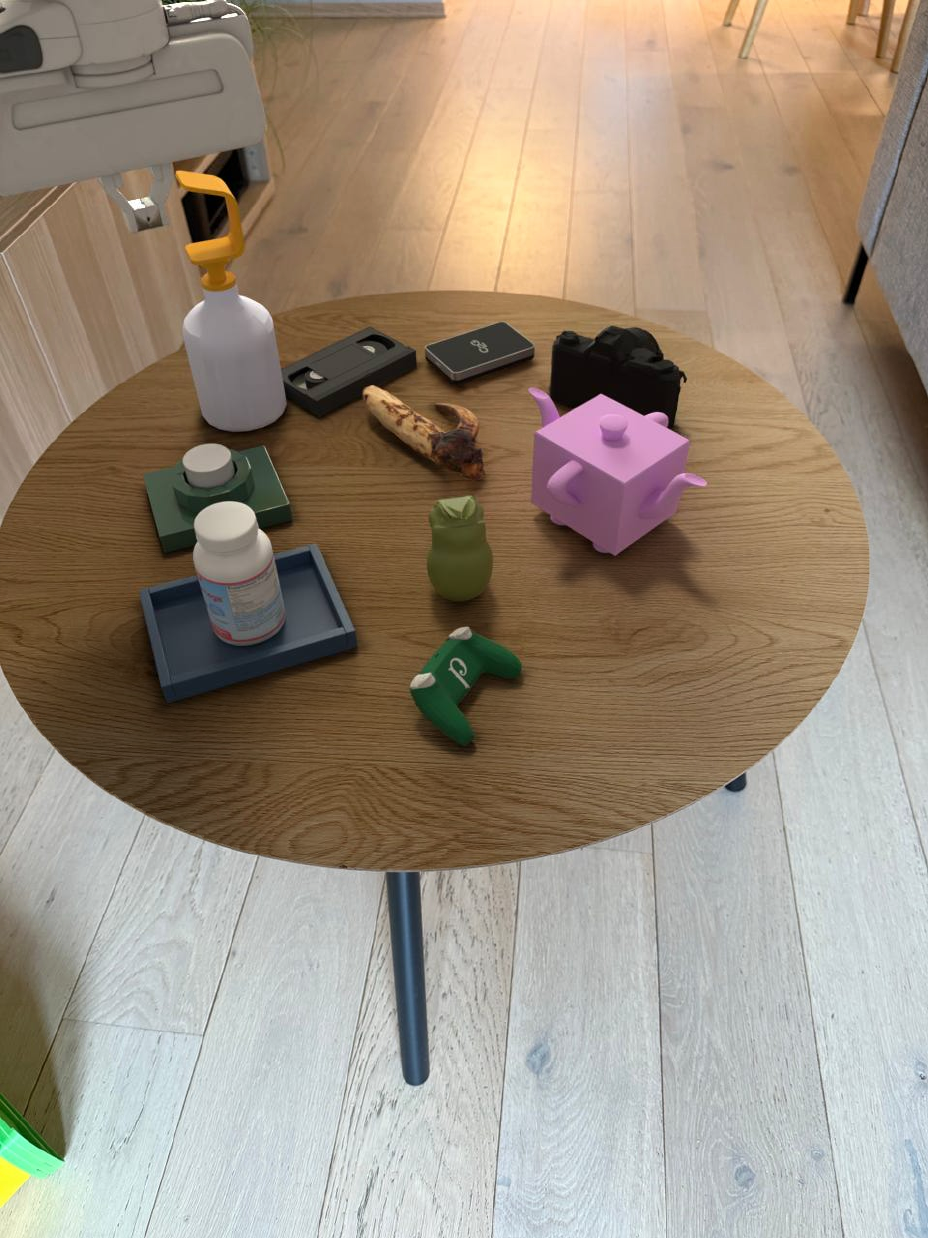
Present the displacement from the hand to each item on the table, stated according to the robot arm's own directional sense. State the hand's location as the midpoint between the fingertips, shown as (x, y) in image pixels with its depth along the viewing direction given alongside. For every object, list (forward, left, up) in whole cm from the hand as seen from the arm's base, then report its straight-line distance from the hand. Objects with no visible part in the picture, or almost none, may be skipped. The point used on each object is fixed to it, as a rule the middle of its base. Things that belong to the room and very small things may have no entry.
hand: (148, 226), depth 71 cm
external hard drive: (+33, +14, -27) cm, 45 cm away
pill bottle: (-1, -17, -27) cm, 32 cm away
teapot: (+33, -16, -27) cm, 46 cm away
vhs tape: (+18, +17, -27) cm, 37 cm away
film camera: (+44, +1, -27) cm, 52 cm away
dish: (-1, -17, -27) cm, 32 cm away
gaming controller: (+13, -31, -27) cm, 43 cm away
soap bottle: (+6, +15, -27) cm, 32 cm away
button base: (0, 0, -27) cm, 27 cm away
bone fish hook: (+23, +2, -27) cm, 36 cm away
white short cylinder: (0, 0, -23) cm, 23 cm away
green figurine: (+17, -20, -27) cm, 38 cm away
